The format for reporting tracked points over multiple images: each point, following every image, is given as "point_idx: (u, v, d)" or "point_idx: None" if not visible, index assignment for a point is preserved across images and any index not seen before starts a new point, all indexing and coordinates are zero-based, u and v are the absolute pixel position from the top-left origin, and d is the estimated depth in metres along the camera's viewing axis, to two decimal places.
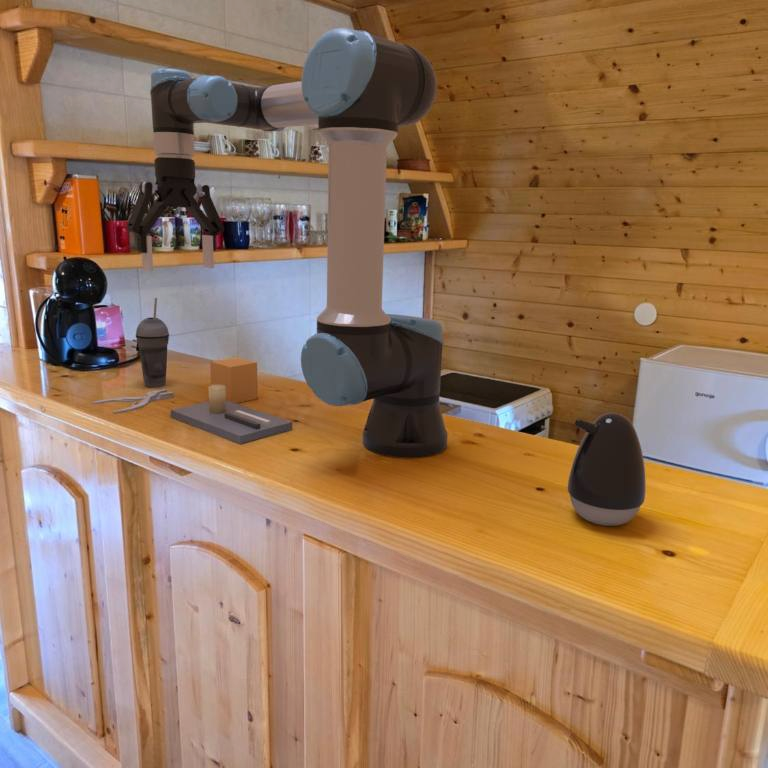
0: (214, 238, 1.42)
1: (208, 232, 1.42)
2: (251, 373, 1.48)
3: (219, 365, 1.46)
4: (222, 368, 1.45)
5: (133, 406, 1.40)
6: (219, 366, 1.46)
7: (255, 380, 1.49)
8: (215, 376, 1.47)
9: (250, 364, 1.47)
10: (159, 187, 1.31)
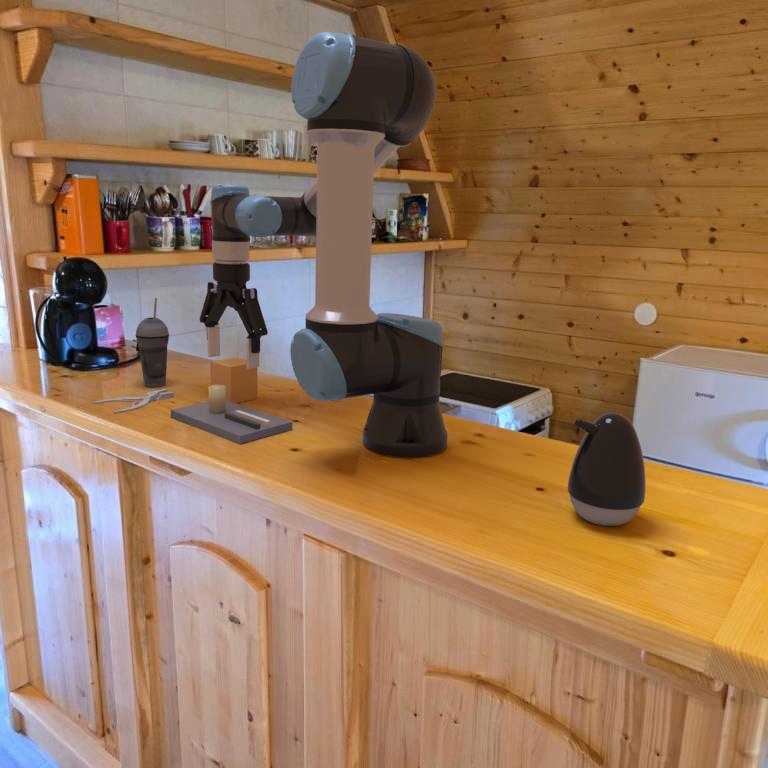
0: (253, 341, 1.41)
1: None
2: (251, 373, 1.48)
3: (219, 365, 1.46)
4: (222, 368, 1.45)
5: (133, 406, 1.40)
6: (219, 366, 1.46)
7: (255, 380, 1.49)
8: (215, 376, 1.47)
9: None
10: None
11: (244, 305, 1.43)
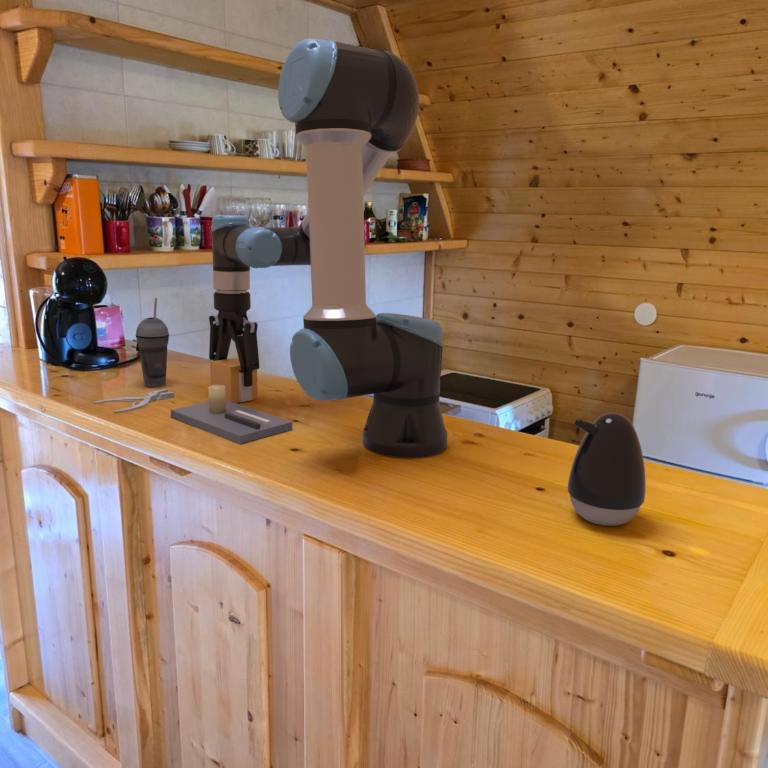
0: (246, 375, 1.45)
1: None
2: None
3: (219, 365, 1.46)
4: (222, 368, 1.45)
5: (134, 406, 1.40)
6: (218, 366, 1.46)
7: (255, 380, 1.49)
8: (215, 376, 1.47)
9: None
10: None
11: (242, 337, 1.45)
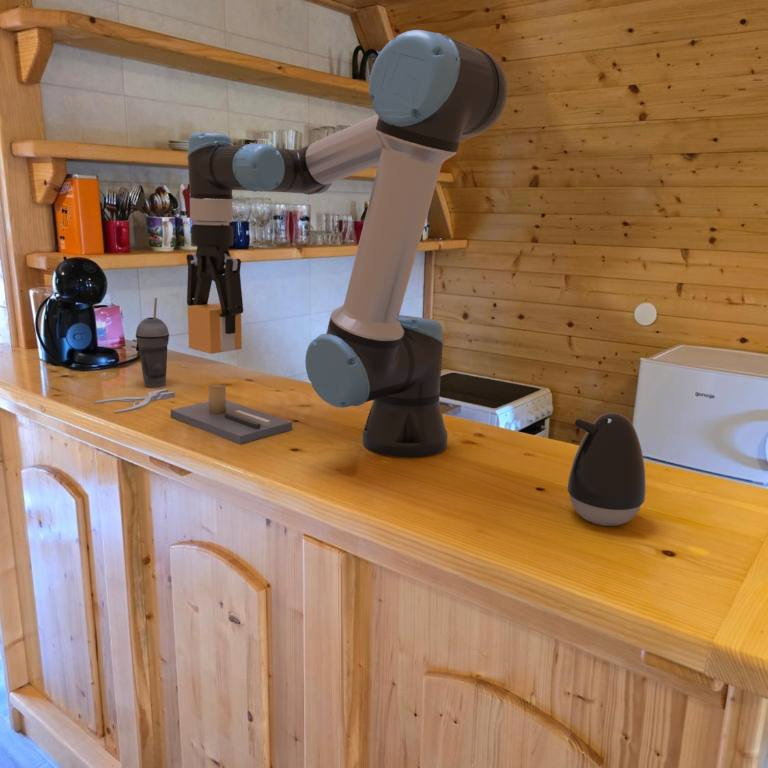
0: (227, 320, 1.27)
1: None
2: None
3: (197, 309, 1.27)
4: (200, 312, 1.27)
5: (134, 406, 1.40)
6: (197, 310, 1.28)
7: (239, 328, 1.31)
8: (193, 322, 1.29)
9: None
10: None
11: (224, 276, 1.27)
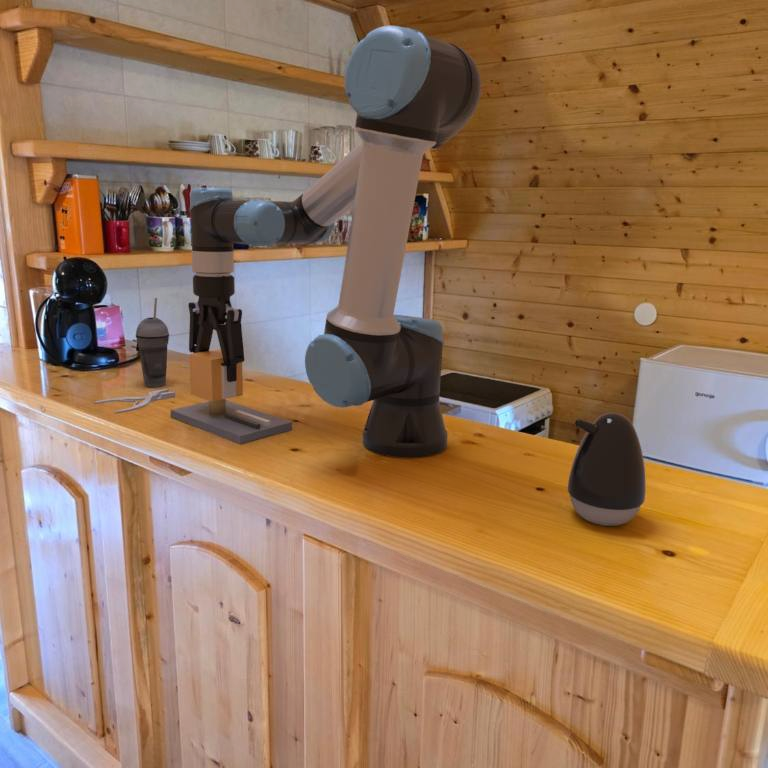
0: (229, 368, 1.29)
1: None
2: None
3: (199, 358, 1.30)
4: (202, 361, 1.29)
5: (134, 406, 1.41)
6: (198, 359, 1.30)
7: (240, 375, 1.33)
8: (195, 370, 1.31)
9: None
10: None
11: (225, 326, 1.29)
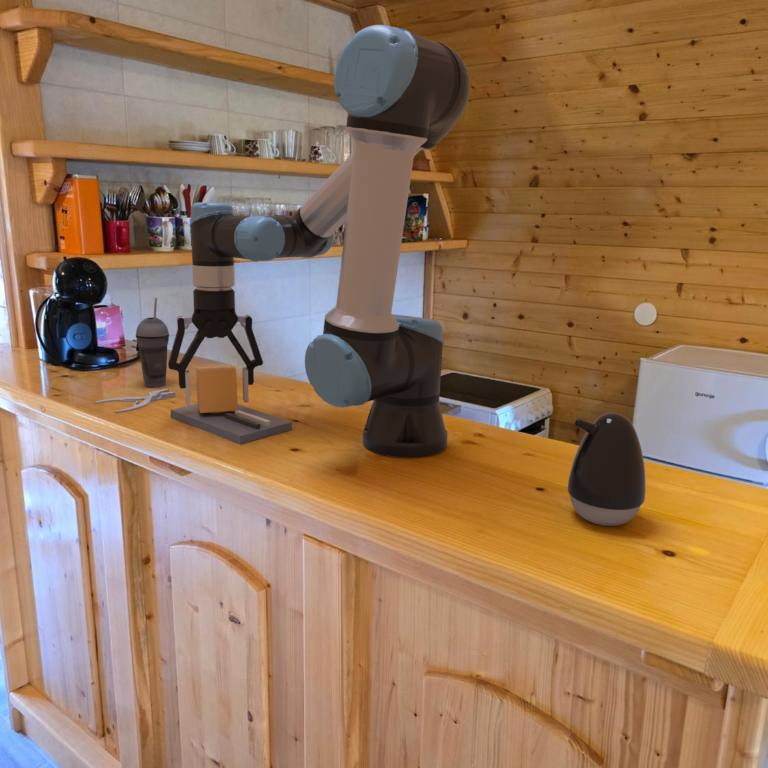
0: (251, 372, 1.34)
1: (246, 365, 1.35)
2: None
3: (216, 371, 1.30)
4: (221, 373, 1.31)
5: (135, 406, 1.41)
6: (215, 372, 1.30)
7: None
8: (208, 385, 1.30)
9: (232, 367, 1.36)
10: (193, 320, 1.28)
11: None
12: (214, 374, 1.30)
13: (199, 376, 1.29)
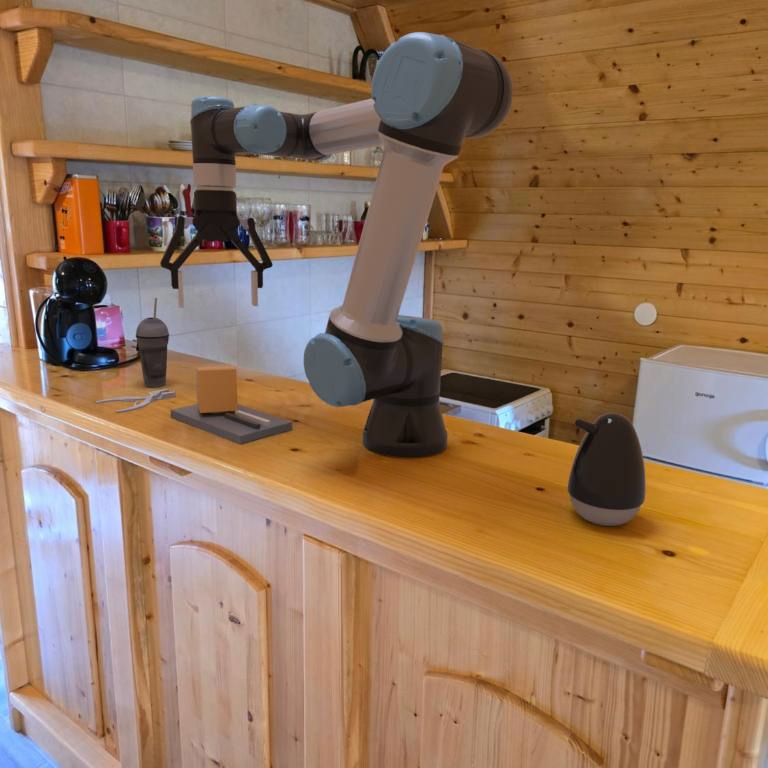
0: (261, 274, 1.31)
1: (255, 268, 1.31)
2: None
3: (216, 371, 1.30)
4: (221, 373, 1.31)
5: (135, 406, 1.41)
6: (215, 372, 1.30)
7: None
8: (208, 385, 1.30)
9: (232, 367, 1.36)
10: (193, 221, 1.25)
11: None
12: (214, 374, 1.30)
13: (199, 376, 1.29)
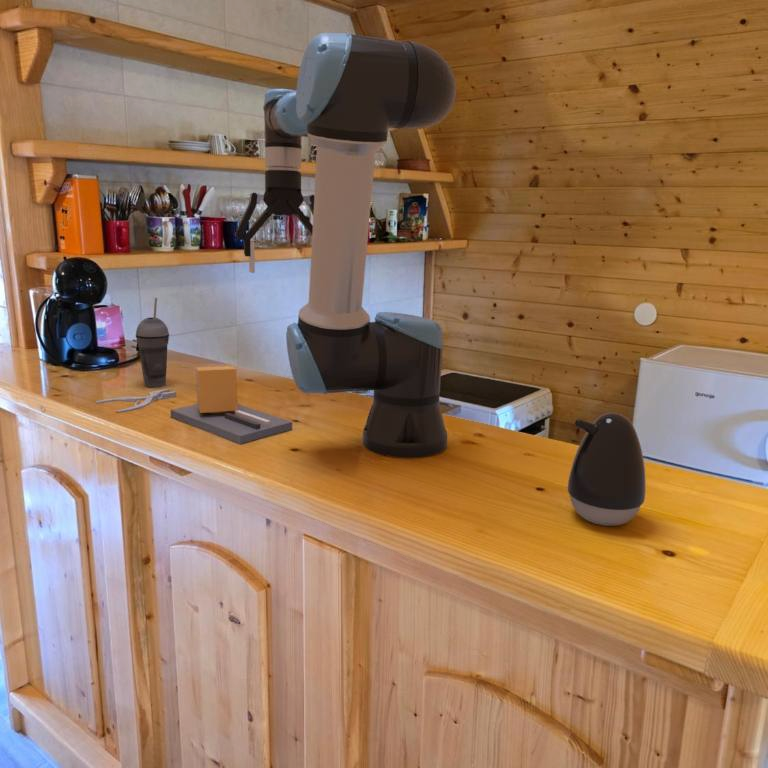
0: None
1: None
2: None
3: (216, 371, 1.30)
4: (221, 373, 1.31)
5: (136, 406, 1.41)
6: (215, 372, 1.30)
7: None
8: (208, 385, 1.30)
9: (232, 367, 1.36)
10: (264, 197, 1.44)
11: None
12: (214, 374, 1.30)
13: (199, 376, 1.29)
